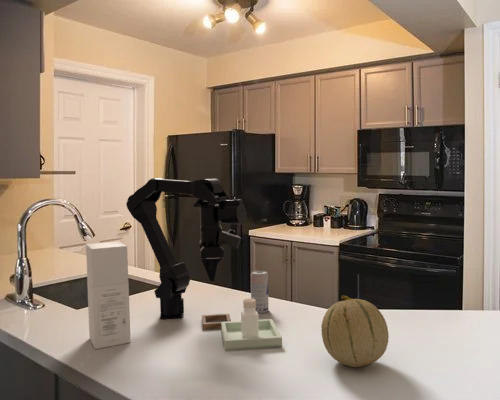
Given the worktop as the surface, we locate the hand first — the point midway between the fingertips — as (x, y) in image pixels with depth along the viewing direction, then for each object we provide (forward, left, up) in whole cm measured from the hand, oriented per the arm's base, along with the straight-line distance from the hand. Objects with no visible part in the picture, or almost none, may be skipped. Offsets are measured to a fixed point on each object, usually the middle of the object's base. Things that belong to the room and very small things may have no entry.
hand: (211, 277), depth 131 cm
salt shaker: (+9, -15, -13) cm, 21 cm away
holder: (+1, -2, -13) cm, 13 cm away
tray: (+9, -15, -13) cm, 22 cm away
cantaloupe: (+30, -34, -13) cm, 47 cm away
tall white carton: (-27, -10, -13) cm, 32 cm away
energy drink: (+15, +8, -13) cm, 22 cm away
